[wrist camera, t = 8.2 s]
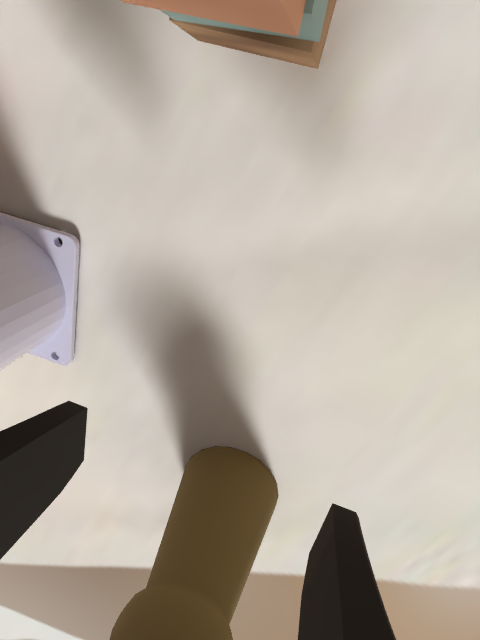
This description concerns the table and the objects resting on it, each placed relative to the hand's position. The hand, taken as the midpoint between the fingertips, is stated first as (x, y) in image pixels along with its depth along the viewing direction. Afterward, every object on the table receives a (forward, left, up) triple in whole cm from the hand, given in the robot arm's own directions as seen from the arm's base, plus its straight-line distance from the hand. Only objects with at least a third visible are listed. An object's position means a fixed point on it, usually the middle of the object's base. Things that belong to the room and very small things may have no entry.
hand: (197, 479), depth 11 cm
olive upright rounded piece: (0, -11, -11) cm, 15 cm away
